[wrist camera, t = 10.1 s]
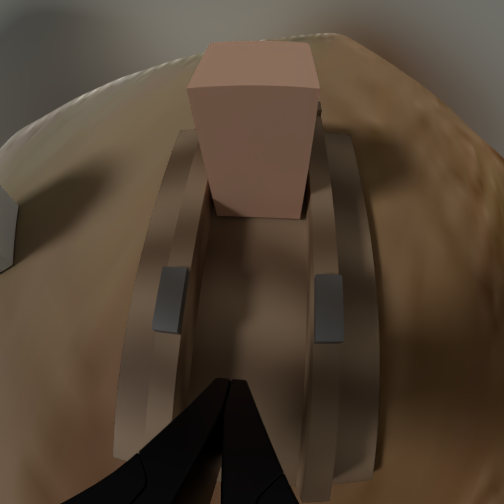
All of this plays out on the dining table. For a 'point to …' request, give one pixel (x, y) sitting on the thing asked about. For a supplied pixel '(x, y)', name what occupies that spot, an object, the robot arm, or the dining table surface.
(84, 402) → the dining table surface
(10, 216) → the medicine bottle
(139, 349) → the walnut chute
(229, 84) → the terracotta block
